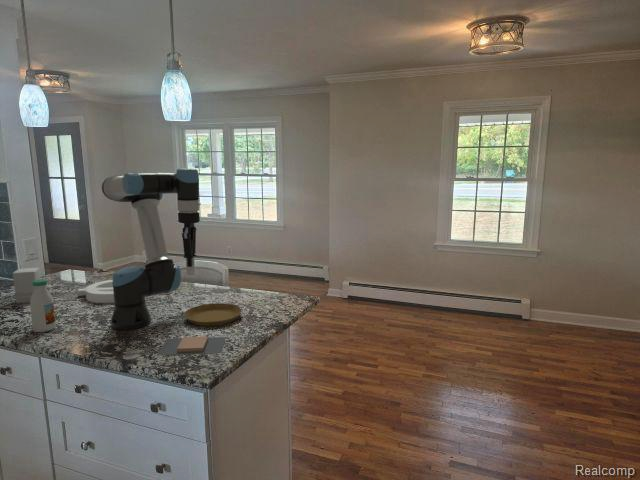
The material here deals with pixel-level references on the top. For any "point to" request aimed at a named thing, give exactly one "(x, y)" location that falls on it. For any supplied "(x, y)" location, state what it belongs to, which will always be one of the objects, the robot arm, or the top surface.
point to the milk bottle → (42, 308)
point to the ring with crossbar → (99, 292)
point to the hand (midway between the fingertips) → (190, 274)
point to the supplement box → (25, 283)
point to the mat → (211, 347)
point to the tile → (192, 344)
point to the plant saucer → (213, 314)
